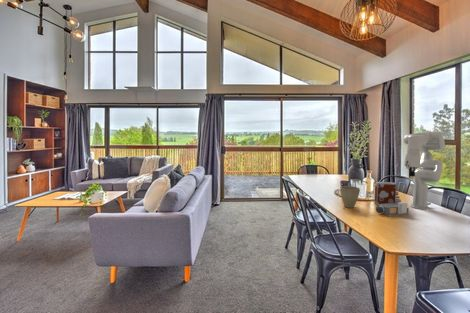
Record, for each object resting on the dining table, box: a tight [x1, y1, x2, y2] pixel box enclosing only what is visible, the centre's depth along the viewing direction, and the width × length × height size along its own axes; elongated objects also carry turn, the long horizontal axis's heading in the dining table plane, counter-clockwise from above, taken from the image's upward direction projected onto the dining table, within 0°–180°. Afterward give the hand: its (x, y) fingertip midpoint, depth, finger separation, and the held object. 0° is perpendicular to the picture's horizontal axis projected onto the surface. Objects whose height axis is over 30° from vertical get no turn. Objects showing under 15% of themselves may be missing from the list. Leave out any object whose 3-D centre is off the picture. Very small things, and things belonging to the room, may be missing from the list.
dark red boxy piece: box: [374, 181, 402, 206], centre depth 211 cm, size 9×19×20 cm, turn 78°
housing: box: [375, 203, 409, 217], centre depth 192 cm, size 21×11×7 cm, turn 104°
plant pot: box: [340, 185, 361, 209], centre depth 209 cm, size 15×15×16 cm
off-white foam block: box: [398, 201, 408, 214], centre depth 188 cm, size 7×2×8 cm, turn 104°
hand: (411, 176), depth 188 cm, fingers closed
